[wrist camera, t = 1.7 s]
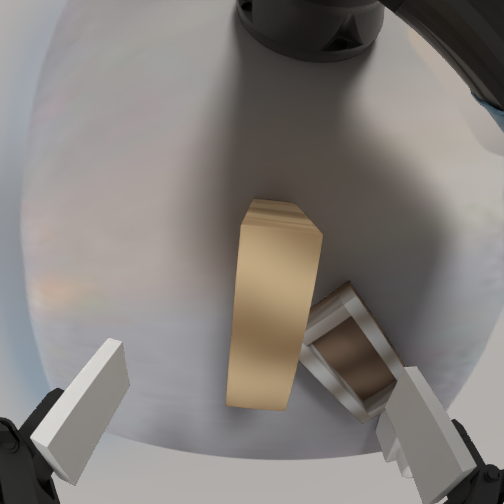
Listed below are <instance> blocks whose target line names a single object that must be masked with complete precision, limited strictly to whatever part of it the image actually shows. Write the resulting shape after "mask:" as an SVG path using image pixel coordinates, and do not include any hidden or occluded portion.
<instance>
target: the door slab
mask: <svg viewBox="0 0 504 504" xmlns="http://www.w3.org/2000/svg"><path fill="white" fill-rule="evenodd" d="M322 240H323V234H322V233H321V232H320V231H319V229H318V228H317V227H316V226H315V225H314V224H313V223H312V222H311V220H310V219H309V218H308V217H307V216H306V215H305V214H304V213H303V211H302V210H301V209H300V208H299V207H298V206H297V205H296V204H295V203H289V202H281V201H273V200H264V199H254V198H253V200H252V202H251V204H250V207H249V209H248V211H247V213H246V215H245V218H244V220H243V222H242V224H241V230H240V240H239V251H238V262H237V273H236V285H235V296H234V308H233V319H232V332H231V344H230V356H229V369H228V382H227V396H226V406H233V407H242V408H251V409H263V410H277V411H286V407H287V403H288V400H289V396H290V392H291V388H292V384H293V380H294V377H295V373H296V368H297V364H298V360H299V356H300V352H301V347H302V343H303V339H304V334H305V330H306V325H307V320H308V316H309V311H310V306H311V301H312V296H313V291H314V286H315V280H316V275H317V269H318V264H319V258H320V252H321V246H322Z"/></svg>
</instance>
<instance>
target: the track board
mask: <svg viewBox="0 0 504 504" xmlns="http://www.w3.org/2000/svg"><path fill="white" fill-rule="evenodd" d="M299 360H300V361H301V362H302V363H303V365H304V366H305V367H306V368H307V369H308V370H309V371H310V372H311V373H312V374H313V375H314V376H315V377H316V378H317V379H318V380H319V381H320V382H321V383H322V384H323V385H324V386H325V387H326V388H327V389H328V390H329V391H330V392H331V393H332V394H333V395H334V396H335V397H336V398H337V399H338V400H339V401H340V402H341V403H342V404H343V405H344V406H345V407H346V408H347V409H348V410H349V411H350V412H351V413H352V414H353V415H354V416H355V417H356V418H357V419H358V420H359V421H360V422H361V423H362V424H363V423H365V422H367V421H368V420H370V419H372V418H374V417H375V416H377V415H379V414H380V413H382V412H384V411H385V410H386V409H385V406H386V404H387V402H388V400H389V398H390V396H391V394H392V392H393V390H394V388H395V386H396V384H397V382H398V379H399V377H400V375H401V373H402V371H403V368H404V367H405V365H404V363H403V362H402V360H401V359H400V357H399V355H398V354H397V352H396V351H395V349H394V347H393V346H392V344H391V343H390V341H389V339H388V338H387V336H386V335H385V333H384V332H383V330H382V329H381V327H380V326H379V324H378V322H377V321H376V319H375V318H374V316H373V315H372V313H371V312H370V310H369V309H368V307H367V306H366V304H365V303H364V302H363V300H362V299H361V297H360V296H359V294H358V293H357V291H356V290H355V288H354V287H353V286H352V284H351V283H350V281H348V282H347V283H345V284H344V285H343V286H341V287H340V288H338V289H337V290H336V291H334V292H333V293H332V294H330V295H329V296H327V297H326V298H325V299H323V300H322V301H320V302H319V303H318V304H316V305H315V306H313V307H312V308H311V309H310V311H309V316H308V320H307V325H306V330H305V334H304V339H303V343H302V347H301V352H300V356H299Z"/></svg>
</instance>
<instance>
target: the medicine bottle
mask: <svg viewBox="0 0 504 504" xmlns="http://www.w3.org/2000/svg"><path fill="white" fill-rule="evenodd" d="M376 434H377V437H378V440H379V443H380V446H381V449H382V452H383V455H384V458H385V461H386V462H391V461H394V460H397V463H398V466H399V469H400V471H401V475H402V477H405V478H413V475H412V473H411V470H410V467H409V465H408V462H407V460H406V457H405V455H404V452H403V449H402V447H401V445H400V442H399V440H398V437H397V435H396V432H395V430H394V428H393V425H392V423H391V420H390V418H389V416H388V413H387V411H386V410H385V411H384V412H382V413H381V415H380V418H379V421H378V424H377V428H376Z"/></svg>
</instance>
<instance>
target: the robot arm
mask: <svg viewBox="0 0 504 504" xmlns="http://www.w3.org/2000/svg"><path fill="white" fill-rule="evenodd" d="M236 2H237V7H238V12H239V16H240V19H241V21H242V23H243V25H244V26H245V28H246V29H247V30H248V31H249V33H250V34H251V35H252V36H253V37H254V38H255V39H257V40H258V41H259V42H260V43H262V44H263V45H265V46H266V47H268V48H270V49H272V50H274V51H276V52H278V53H280V54H283V55H285V56H288V57H291V58H295V59H299V60H304V61H311V62H335V61H341V60H345V59H348V58H351V57H353V56H355V55H357V54H359V53H361V52H362V51H364V50H365V49H366V48H367V47H368V46H369V45H370V44H371V43H372V41H373V40H374V39H375V38H376V37H377V35H378V34H379V32H380V30H381V27H382V24H383V19H384V7H385V6H386V7H387V8H388V9H390V10H391V11H392V12H393V13H394V14H395V15H397V16H398V17H399V18H400V19H402V20H403V21H404V22H405V23H407V24H408V25H409V26H410V27H411V28H413V29H414V30H415V31H416V32H417V33H418V34H419V35H421V36H422V37H423V38H424V39H425V40H426V41H427V42H428V43H429V44H430V45H431V46H432V47H433V48H434V49H435V50H436V51H437V52H438V53H439V54H440V55H441V56H442V57H443V58H444V59H445V60H446V61H447V62H448V63H449V65H450V66H451V67H452V68H453V69H454V70H455V71H456V72H457V74H458V75H459V76H460V77H461V78H462V79H463V81H464V82H465V83H466V84H467V85H468V87H469V88H470V90H471V94H472V95H473V97H474V98H475V100H476V101H477V102H478V103H479V104H480V105H482V106H483V107H485V108H486V109H487V111H488V112H489V113H490V115H491V116H492V117H493V119H494V120H495V121H496V123H497V124H498V126H499V127H500V128H501V130H502V131H503V132H504V0H236ZM129 386H130V382H129V377H128V372H127V366H126V361H125V354H124V348H123V342H122V341H118V340H114V339H110V338H108V339H107V340H106V342H105V343H104V344H103V345H102V346H101V347H100V349H99V350H98V351H97V352H96V353H95V355H94V356H93V357H92V358H91V359H90V361H89V362H88V363H87V364H86V365H85V367H84V368H83V369H82V370H81V372H80V373H79V374H78V375H77V377H76V378H75V379H74V380H73V382H72V383H71V384H70V385H69V387H68V388H67V389H66V390H65V391H64V390H62V389H60V388H56V389H54V390H53V391H51V392H49V393H48V394H47V395H46V397H45V398H44V399H43V400H42V402H41V403H40V404H39V405H38V406H37V407H36V408H37V409H35V410H34V411H33V413H32V414H31V415H30V416H29V417H28V419H27V420H26V421H25V422H24V424H23V425H22V426H21V428H20V429H19V430H17V428H16V427H15V425H14V424H13V423H12V421H11V420H9V419H7V418H2V417H0V504H60V501H59V498H58V495H57V493H56V489H55V486H54V482H53V479H52V478H51V475H52V473H53V471H54V472H55V473H56V474H57V476H58V477H59V478H60V479H62V480H64V481H66V482H68V483H70V484H72V485H74V486H75V485H76V484H77V482H78V480H79V478H80V476H81V474H82V472H83V470H84V468H85V466H86V464H87V462H88V460H89V459H90V457H91V455H92V453H93V451H94V449H95V447H96V445H97V444H98V442H99V440H100V438H101V436H102V434H103V433H104V431H105V429H106V427H107V425H108V423H109V422H110V420H111V418H112V416H113V414H114V413H115V411H116V409H117V407H118V406H119V404H120V402H121V400H122V398H123V397H124V395H125V393H126V391H127V390H128V388H129ZM385 409H386V411H387V413H388V416H389V418H390V420H391V423H392V425H393V428H394V430H395V432H396V435H397V437H398V440H399V442H400V445H401V447H402V449H403V452H404V455H405V457H406V460H407V462H408V465H409V467H410V470H411V473H412V475H413V478H414V481H415V483H416V486H417V489H418V491H419V494H420V497H421V500H422V503H423V504H434V503H437V502H439V501H440V500H441V499H442V498H444V497H445V496H446V495H447V498H448V500H447V501H446V502H444V503H443V504H503V502H504V469H503V470H499V469H498V468H497V466H494V465H492V464H488V465H486V464H485V463H484V461H483V459H482V458H481V456H480V454H479V452H478V451H477V449H476V447H475V445H474V444H473V442H472V441H471V439H470V437H469V436H468V435H467V432H466V430H465V429H464V427H463V426H462V425H461V424H460V423H459V422H457V420H455V419H453V420H450V418H449V416H448V415H447V413H446V411H445V410H444V408H443V407H442V405H441V403H440V402H439V400H438V399H437V397H436V395H435V394H434V392H433V391H432V389H431V388H430V386H429V385H428V383H427V381H426V380H425V378H424V377H423V375H422V374H421V372H420V371H419V369H418V368H417V366H415V367H404V368H403V371H402V373H401V375H400V377H399V379H398V382H397V384H396V386H395V388H394V390H393V392H392V394H391V396H390V398H389V400H388V402H387V404H386V406H385Z"/></svg>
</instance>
